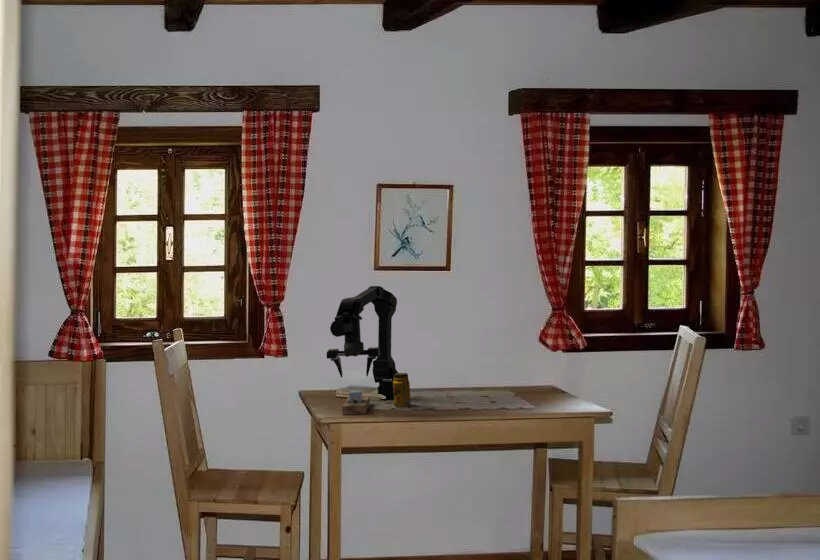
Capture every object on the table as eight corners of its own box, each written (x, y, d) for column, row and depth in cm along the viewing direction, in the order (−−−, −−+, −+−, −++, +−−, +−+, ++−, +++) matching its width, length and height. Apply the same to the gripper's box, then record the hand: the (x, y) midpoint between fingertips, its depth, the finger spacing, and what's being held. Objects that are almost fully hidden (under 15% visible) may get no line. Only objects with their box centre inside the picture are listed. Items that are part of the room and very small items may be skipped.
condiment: (388, 407, 380) (387, 374, 379) (404, 403, 386) (402, 371, 385) (404, 408, 375) (402, 375, 374) (419, 405, 381) (417, 372, 381)
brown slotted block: (370, 404, 388) (369, 396, 388) (365, 413, 368) (364, 405, 368) (348, 404, 388) (348, 396, 388) (342, 414, 368) (342, 406, 368)
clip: (362, 408, 379) (361, 390, 379) (361, 410, 375) (360, 392, 375) (351, 409, 379) (350, 390, 379) (350, 411, 375) (349, 392, 375)
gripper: (323, 337, 368) (325, 381, 369) (376, 334, 368) (378, 379, 368) (327, 333, 380) (329, 376, 380) (378, 331, 379) (380, 374, 380)
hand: (354, 376), depth 377 cm, fingers open, 9 cm apart
